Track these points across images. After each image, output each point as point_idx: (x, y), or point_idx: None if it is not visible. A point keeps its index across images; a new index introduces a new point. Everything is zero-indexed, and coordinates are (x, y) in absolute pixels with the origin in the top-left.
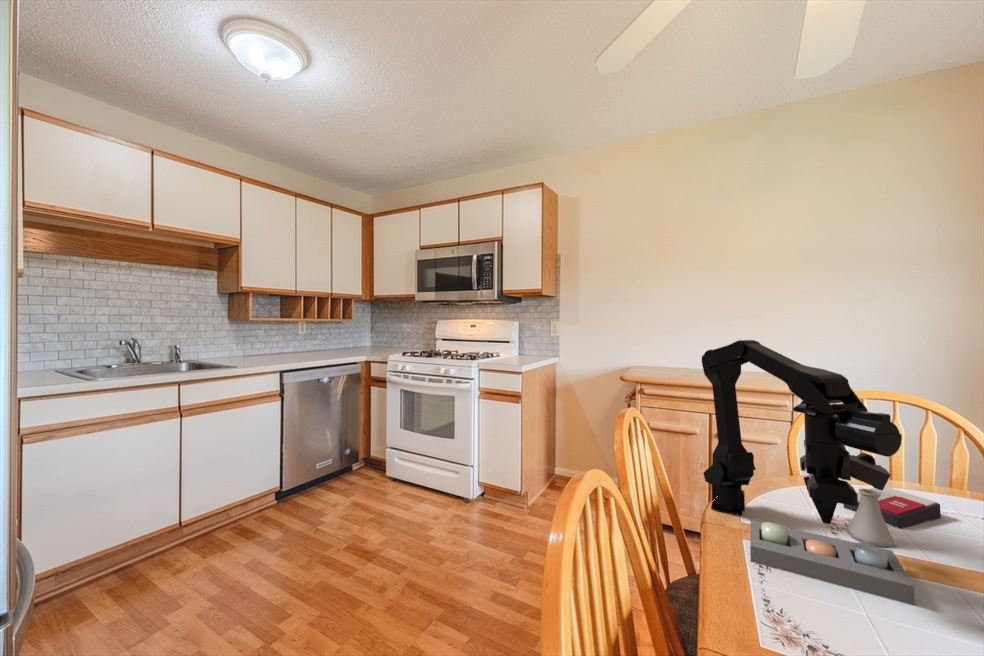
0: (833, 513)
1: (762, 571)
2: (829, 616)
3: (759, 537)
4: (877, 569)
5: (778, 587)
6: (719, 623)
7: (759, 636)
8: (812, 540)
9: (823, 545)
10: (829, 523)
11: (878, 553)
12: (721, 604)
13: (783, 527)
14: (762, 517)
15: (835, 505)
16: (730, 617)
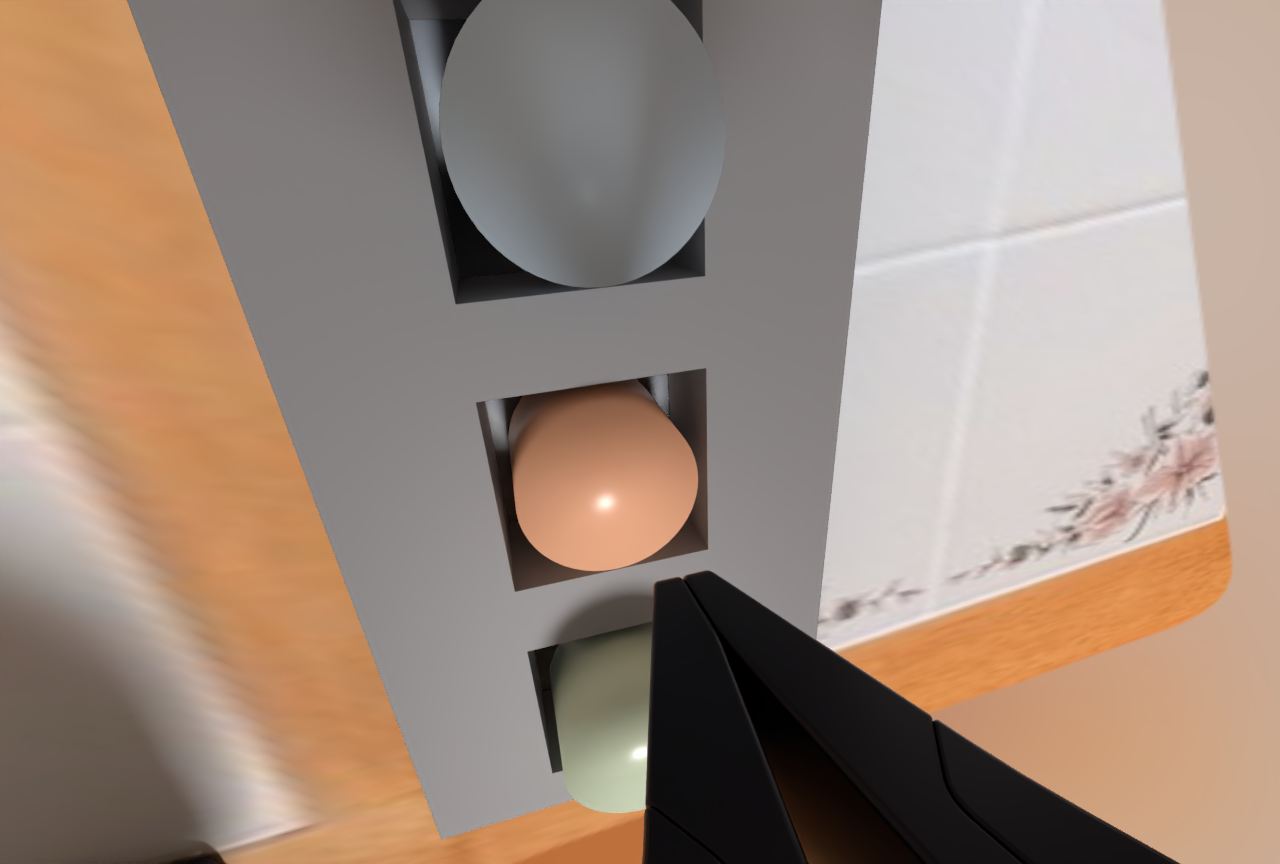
0: (852, 665)
1: (827, 610)
2: (1052, 373)
3: (545, 719)
4: (733, 122)
5: (923, 542)
6: (1155, 611)
7: (1188, 528)
8: (550, 543)
9: (587, 477)
10: (714, 578)
11: (665, 75)
12: (1077, 634)
13: (604, 728)
14: (73, 792)
15: (1060, 805)
16: (1127, 601)
